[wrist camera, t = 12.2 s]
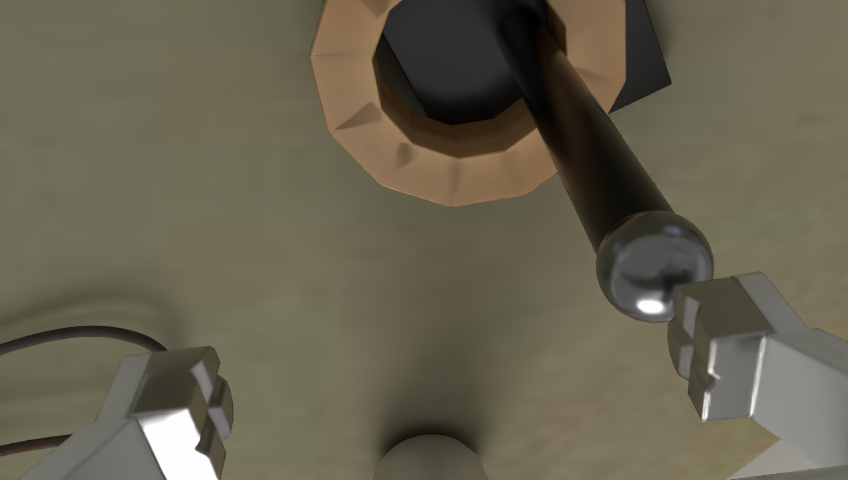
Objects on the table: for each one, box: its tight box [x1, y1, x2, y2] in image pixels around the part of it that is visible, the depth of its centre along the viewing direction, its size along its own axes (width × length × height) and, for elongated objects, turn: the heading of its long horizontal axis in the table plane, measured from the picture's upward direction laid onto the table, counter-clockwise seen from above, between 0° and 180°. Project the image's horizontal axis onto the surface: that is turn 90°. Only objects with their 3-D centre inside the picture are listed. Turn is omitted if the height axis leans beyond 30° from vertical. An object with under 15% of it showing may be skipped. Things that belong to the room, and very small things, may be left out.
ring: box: [309, 0, 626, 207], centre depth 26 cm, size 11×11×3 cm
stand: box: [382, 0, 714, 323], centre depth 21 cm, size 9×9×17 cm
